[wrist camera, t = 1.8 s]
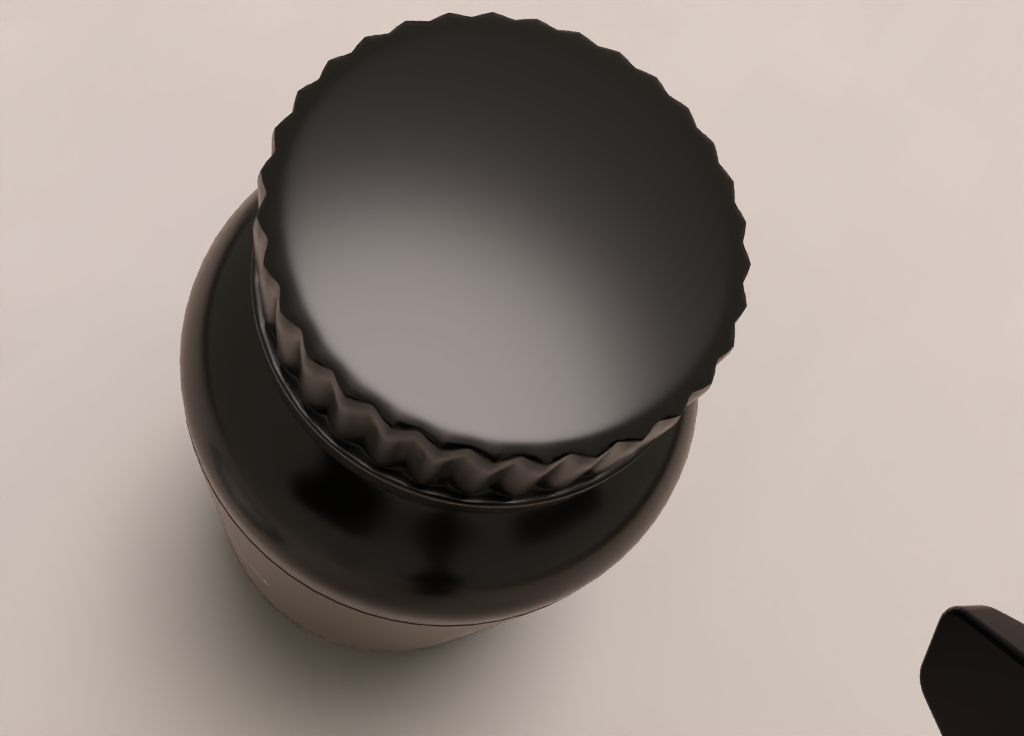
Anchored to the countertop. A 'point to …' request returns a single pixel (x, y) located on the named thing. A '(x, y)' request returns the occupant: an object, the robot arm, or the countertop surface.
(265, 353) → the supplement bottle
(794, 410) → the countertop surface
